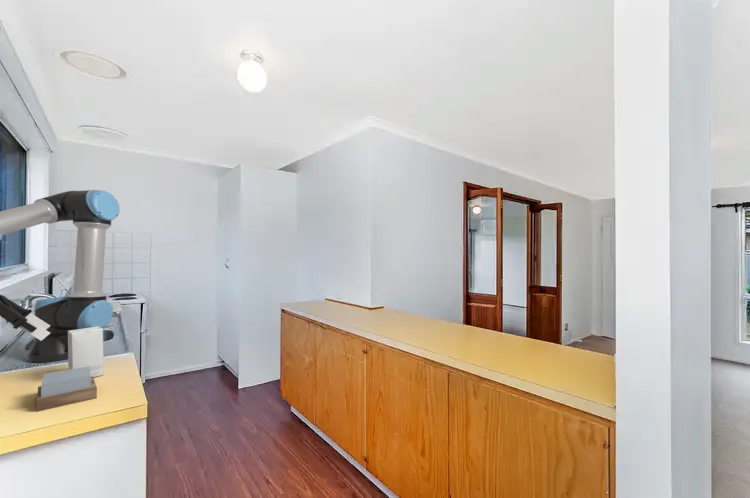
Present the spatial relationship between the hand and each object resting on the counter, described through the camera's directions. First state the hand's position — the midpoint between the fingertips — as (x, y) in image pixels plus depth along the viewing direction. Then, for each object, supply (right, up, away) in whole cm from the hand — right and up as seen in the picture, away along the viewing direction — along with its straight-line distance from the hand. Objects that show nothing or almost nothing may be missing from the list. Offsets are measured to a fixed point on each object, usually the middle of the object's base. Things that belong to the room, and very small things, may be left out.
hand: (46, 332), depth 108 cm
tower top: (+15, -13, -9) cm, 22 cm away
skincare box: (+7, -16, +7) cm, 19 cm away
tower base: (+15, -16, -9) cm, 24 cm away
